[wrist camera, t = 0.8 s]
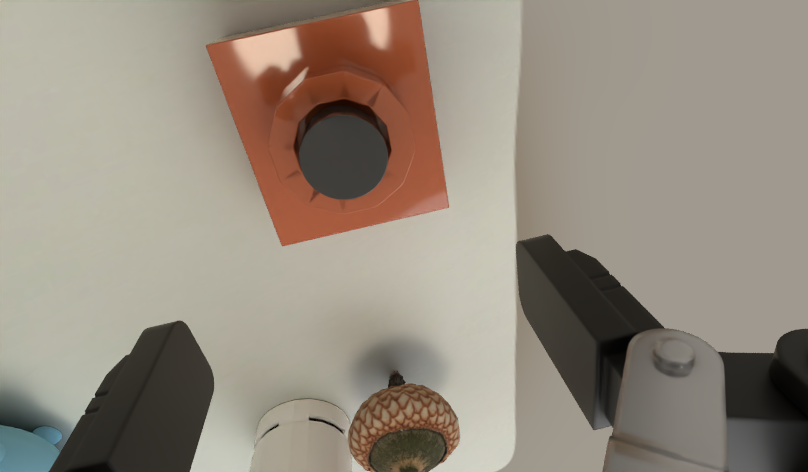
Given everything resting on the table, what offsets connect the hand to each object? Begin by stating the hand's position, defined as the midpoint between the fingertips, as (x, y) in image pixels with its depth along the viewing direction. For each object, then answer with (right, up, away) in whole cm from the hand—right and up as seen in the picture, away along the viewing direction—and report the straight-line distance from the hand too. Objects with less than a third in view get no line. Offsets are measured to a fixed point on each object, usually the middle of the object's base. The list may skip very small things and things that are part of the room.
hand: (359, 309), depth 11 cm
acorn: (0, -10, +27) cm, 29 cm away
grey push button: (-2, +6, +11) cm, 13 cm away
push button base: (-3, +9, +16) cm, 19 cm away
